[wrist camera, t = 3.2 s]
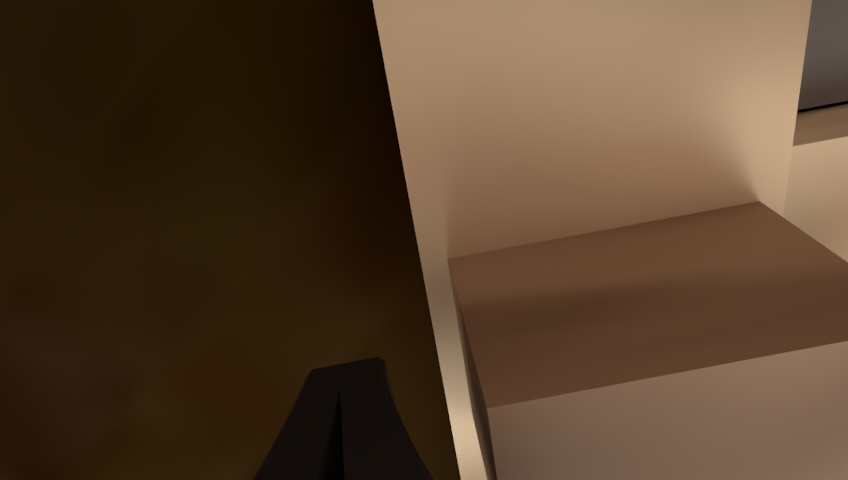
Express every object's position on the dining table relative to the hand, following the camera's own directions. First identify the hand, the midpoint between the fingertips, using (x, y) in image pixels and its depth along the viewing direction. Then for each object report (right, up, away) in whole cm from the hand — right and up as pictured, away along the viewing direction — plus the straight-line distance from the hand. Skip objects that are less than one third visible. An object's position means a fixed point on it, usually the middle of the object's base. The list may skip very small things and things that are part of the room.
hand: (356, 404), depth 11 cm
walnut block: (+5, +1, +1) cm, 5 cm away
